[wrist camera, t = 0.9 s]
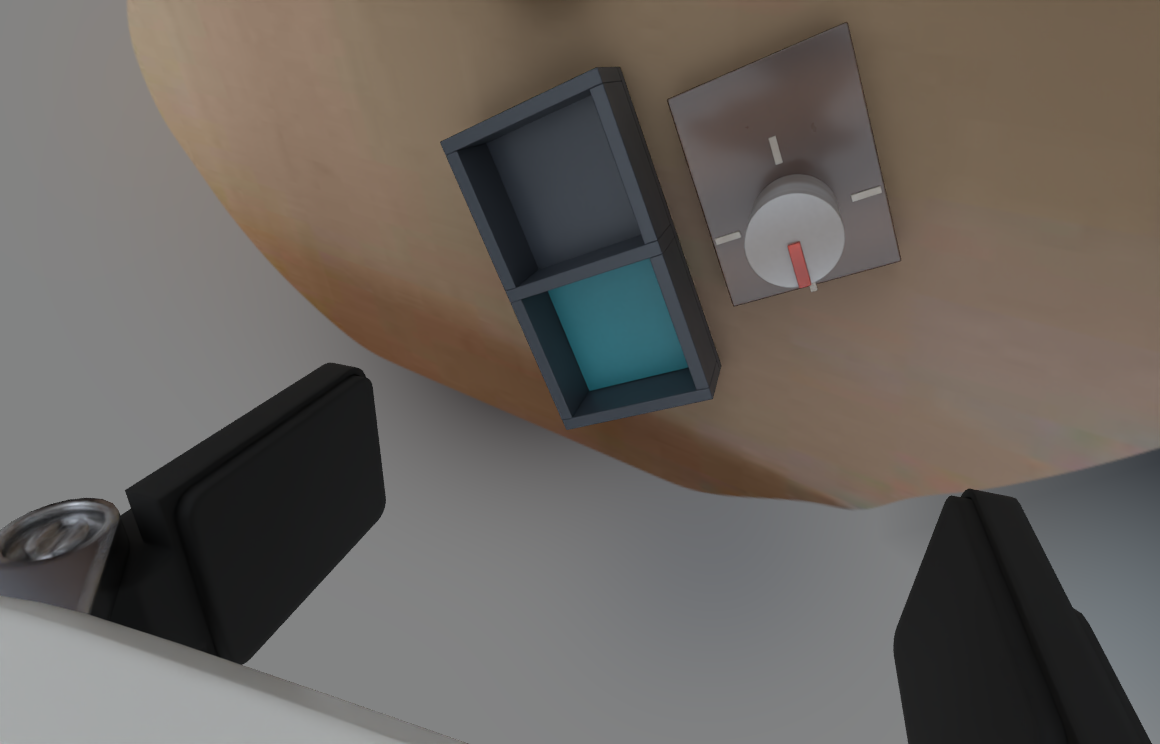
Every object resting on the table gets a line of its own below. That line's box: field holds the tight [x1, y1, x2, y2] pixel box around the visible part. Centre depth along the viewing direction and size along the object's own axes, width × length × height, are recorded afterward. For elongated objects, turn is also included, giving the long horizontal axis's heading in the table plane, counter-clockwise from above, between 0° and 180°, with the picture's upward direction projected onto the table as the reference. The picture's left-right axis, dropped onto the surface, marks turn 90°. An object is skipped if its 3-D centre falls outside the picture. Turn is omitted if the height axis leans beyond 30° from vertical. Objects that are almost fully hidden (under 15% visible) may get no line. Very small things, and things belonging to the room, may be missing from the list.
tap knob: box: [744, 174, 845, 288], centre depth 31 cm, size 4×4×6 cm
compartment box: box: [440, 67, 721, 430], centre depth 39 cm, size 19×10×5 cm, turn 23°
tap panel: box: [667, 22, 901, 306], centre depth 34 cm, size 12×9×3 cm
